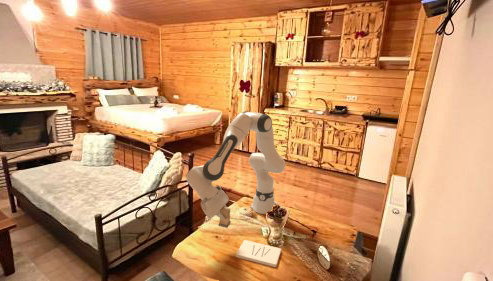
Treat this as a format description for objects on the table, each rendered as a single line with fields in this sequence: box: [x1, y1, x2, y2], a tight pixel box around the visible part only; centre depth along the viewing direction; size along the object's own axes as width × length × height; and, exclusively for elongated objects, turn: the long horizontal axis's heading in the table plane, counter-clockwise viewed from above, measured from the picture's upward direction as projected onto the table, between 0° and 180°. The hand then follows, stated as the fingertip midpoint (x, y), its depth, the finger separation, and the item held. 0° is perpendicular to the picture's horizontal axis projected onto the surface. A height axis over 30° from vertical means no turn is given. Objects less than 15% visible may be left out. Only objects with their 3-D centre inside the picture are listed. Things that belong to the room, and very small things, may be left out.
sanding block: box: [218, 207, 231, 229], centre depth 131 cm, size 5×5×9 cm
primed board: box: [235, 239, 282, 268], centre depth 128 cm, size 13×20×2 cm, turn 72°
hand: (226, 216), depth 130 cm, fingers closed on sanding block, 4 cm apart
